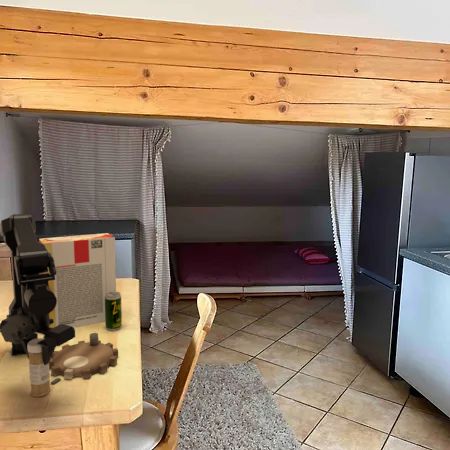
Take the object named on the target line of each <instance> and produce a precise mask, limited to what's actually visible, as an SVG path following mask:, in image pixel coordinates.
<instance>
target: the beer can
mask: <svg viewBox="0 0 450 450" xmlns="http://www.w3.org/2000/svg"><path fill="white" fill-rule="evenodd" d="M122 314H123V313H122V295H121V292H119V291H116V292H108V293H106V294H105V322H104V323H105V329H106V330H107V331H110V332H113V331H114V332H115V331H119V330H121V328H122V327H123V325H122V324H123V323H122V322H123V321H122V318H123V317H122Z"/></svg>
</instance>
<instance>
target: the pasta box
mask: <svg viewBox="0 0 450 450" xmlns="http://www.w3.org/2000/svg"><path fill="white" fill-rule="evenodd" d="M38 242H39V243H41V244H44V245H45V247H46V249H47V251H48V253H51V256H52V257H53V259H54V263H55V268H56V275H55V280H51V281H48V284H49V287H50V289H51V290H52V292H53V293H54V294H55V296H56V299H57V304H56V307H55V308H54V310H53V311H52V312H50V313H49V318H51V319H53V321H54V323H52V324H50V325H49V327H51V328H54V327H56V326H58V325H60V324H64V325H68V326H72V327H73V328H75V329H76V328H80V327H81V328H82V327H86V326H90V325H96V324H100V323H105V294H106V293H108V292H117V278H116V275H117V273H116V270H117V269H116V265H117V263H116V237H115V236H113V234H110V233H107V232H105V233H95V234H94V233H93V234H81V235H69V236H56V237H44V238H43V237H42V238H39V239H38ZM46 273H50V272H49V268H48V272H46ZM40 274H45V273H40Z"/></svg>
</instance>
